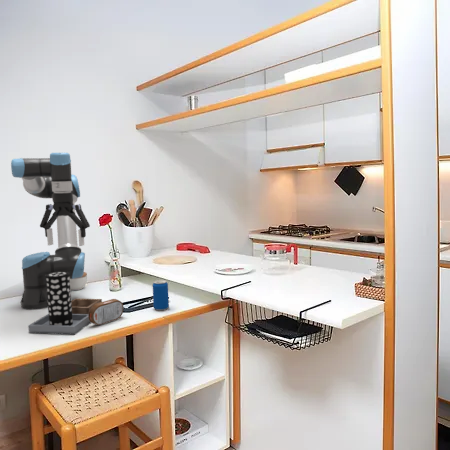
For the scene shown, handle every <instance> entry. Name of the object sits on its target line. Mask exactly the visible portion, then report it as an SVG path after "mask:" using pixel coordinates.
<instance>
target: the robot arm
mask: <svg viewBox="0 0 450 450" xmlns="http://www.w3.org/2000/svg"><path fill="white" fill-rule="evenodd" d="M10 166H11V168H10V170H11V174H12V176H13V178H19V179H21V180H22V186H23V188H24V190H25V191H26V192H27V193H28V194H29V195H32V196H34V197H36V198H40V199H52V202H53V204H51V203H50V204H49V203H48V204H46V205H45V211H44V214H43V217H42V218H41V222H40V224H39V227H40V228H43V229H44V234H45V235H44V236H45V237H46V238H47V246H52V245H54V236H53V234H54V233H53V228H52V226H53V225H54V223H55V222H56V228H57V229H56V230H57V248H56V249H55V250H54V254H51V253H50V252H49V251H41V252H36V253H32V254H31V253H30V254H29V255H26V256H24V257H23V258H22V259H21V269H22V277H23V279H22V280H23V292H22V297H21V299H20V307H21V308H22V309H24V310H25V309H26V310H40V309H45V308H48V299H47V286H46V274H49V273H53V272H69V277H70V279H74V278H80V277H82V276H83V274H84V272H85V262H86V261H85V256H86V253H85V252H83V251H82V248H81V247H83V246H85V237H86V229H89V228H90V226H91V225H90V222H89V221H88V219H87V217H86V215H85V213H84V212H83V209H82V205H81V204H80V203H79V204H75V203H76V202H77V201H78V199H79V198H80V197H81V190H80V184H79V180H78V178H77V176H76V175H75V174H72V160H71V155H70V153H69V152H51V153H50V154H49V157H47V158H45V157H44V158H38V157H37V158H32V157H31V158H30V157H29V158H28V157H27V158H25V157H24V158H23V157H19V158H13V159H11V161H10ZM52 211H53V213H52ZM51 214H52V215H51ZM50 216H51V217H50ZM77 227H78V228H79V229H78V230H77ZM77 232H78V233H77ZM77 234H78V235H77Z"/></svg>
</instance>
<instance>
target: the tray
mask: <svg viewBox="0 0 450 450" xmlns="http://www.w3.org/2000/svg"><path fill="white" fill-rule="evenodd" d="M88 315H89V314H72V319H73V324H72V325H71V326H61V325H50V324H49V313H47V314H45V315H44V316H42V317H40V318H39V319H37V320H34V322H32V323H30V324H28V325H27V326H28V327H27V328H28V334H39V335H63V336H64V335H68V336H70V335H72V336H74V335H76V334H78V333H79V332H80V331H81V330H83V329H84V328H85V327H87V326H88V325H89V324H92V323H91V322H90V320H89V317H88Z"/></svg>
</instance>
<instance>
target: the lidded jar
mask: <svg viewBox="0 0 450 450" xmlns="http://www.w3.org/2000/svg"><path fill="white" fill-rule="evenodd" d="M87 274H88V273H87V272H86V271H84V274H83V276H82V277H80V278H74V279H70V291H79V290H80V289H81V290H83V289H84V287H85V286H86V284H87V281H88V275H87Z"/></svg>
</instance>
